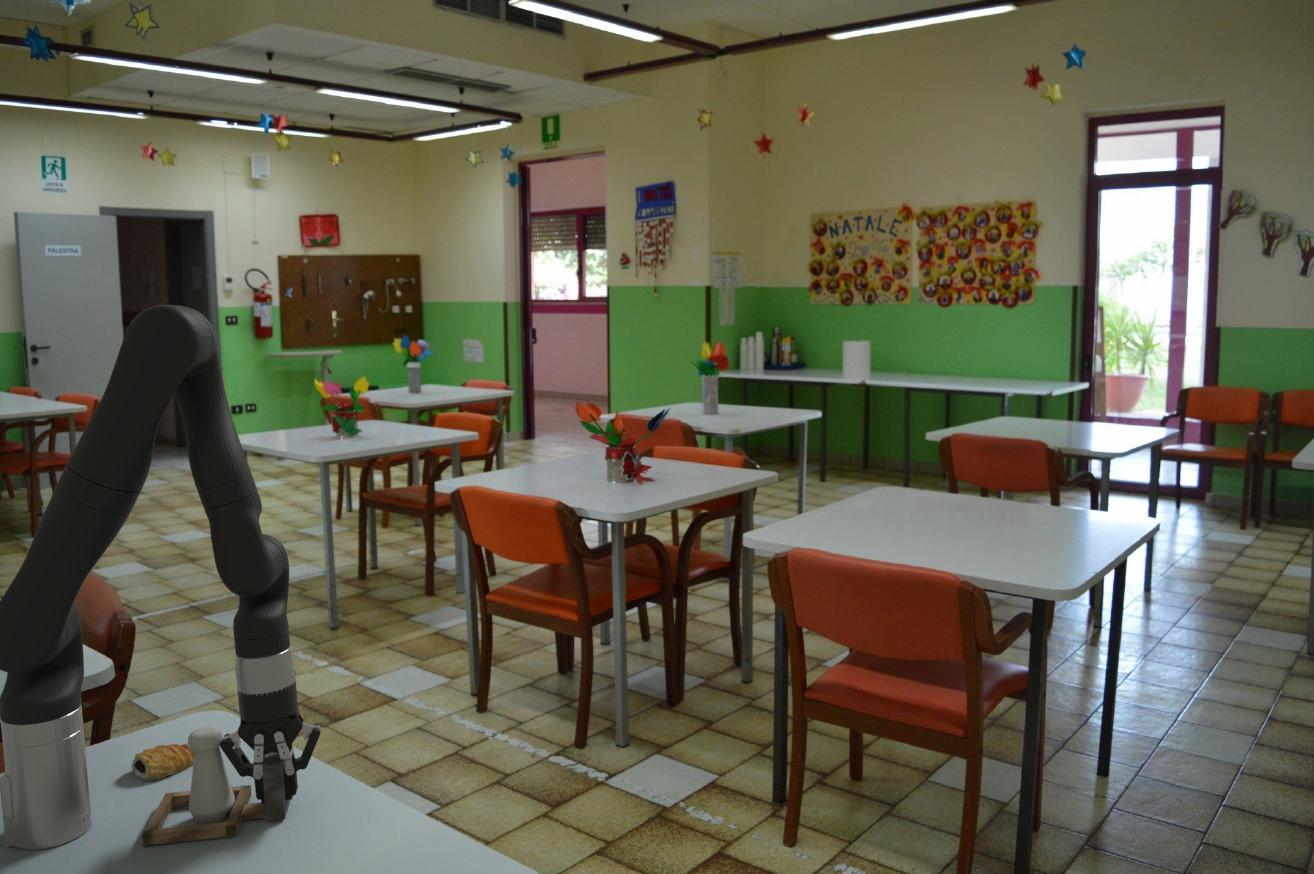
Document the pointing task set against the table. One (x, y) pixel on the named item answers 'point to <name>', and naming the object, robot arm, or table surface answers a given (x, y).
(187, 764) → the pastry
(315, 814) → the table surface
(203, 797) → the salt shaker
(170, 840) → the frame
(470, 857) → the table surface
